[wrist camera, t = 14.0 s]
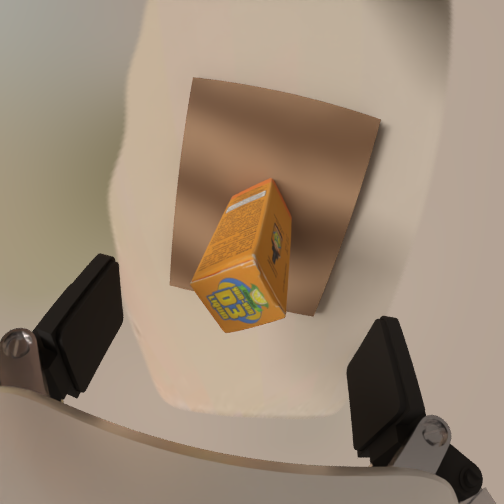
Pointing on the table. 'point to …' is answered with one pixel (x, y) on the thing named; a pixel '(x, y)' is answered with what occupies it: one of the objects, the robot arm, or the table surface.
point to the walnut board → (270, 175)
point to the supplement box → (247, 260)
